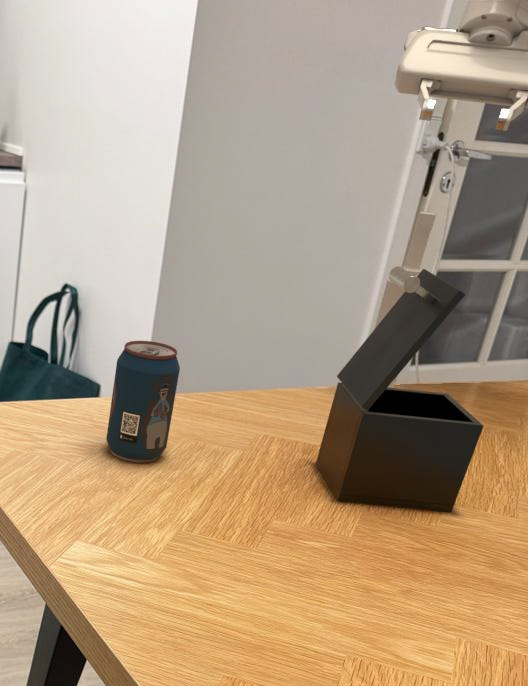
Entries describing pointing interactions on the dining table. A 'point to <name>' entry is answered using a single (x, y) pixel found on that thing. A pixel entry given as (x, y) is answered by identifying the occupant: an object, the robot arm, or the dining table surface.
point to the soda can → (142, 401)
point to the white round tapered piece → (408, 265)
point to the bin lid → (399, 334)
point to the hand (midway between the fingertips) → (463, 121)
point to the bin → (398, 449)
